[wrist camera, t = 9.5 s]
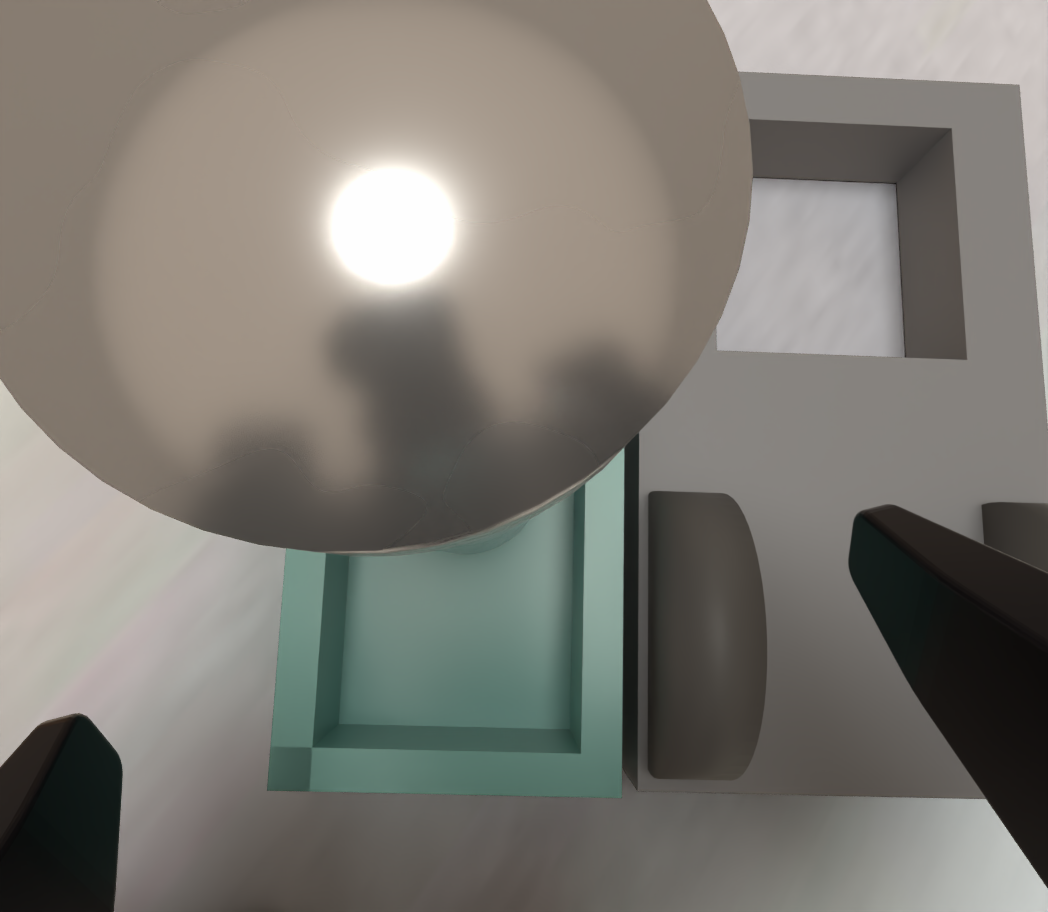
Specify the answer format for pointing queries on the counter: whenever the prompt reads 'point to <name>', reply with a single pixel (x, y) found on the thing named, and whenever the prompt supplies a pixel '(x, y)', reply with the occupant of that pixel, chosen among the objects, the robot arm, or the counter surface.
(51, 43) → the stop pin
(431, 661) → the tray
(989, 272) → the socket plate with bumps
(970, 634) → the robot arm
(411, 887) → the counter surface
